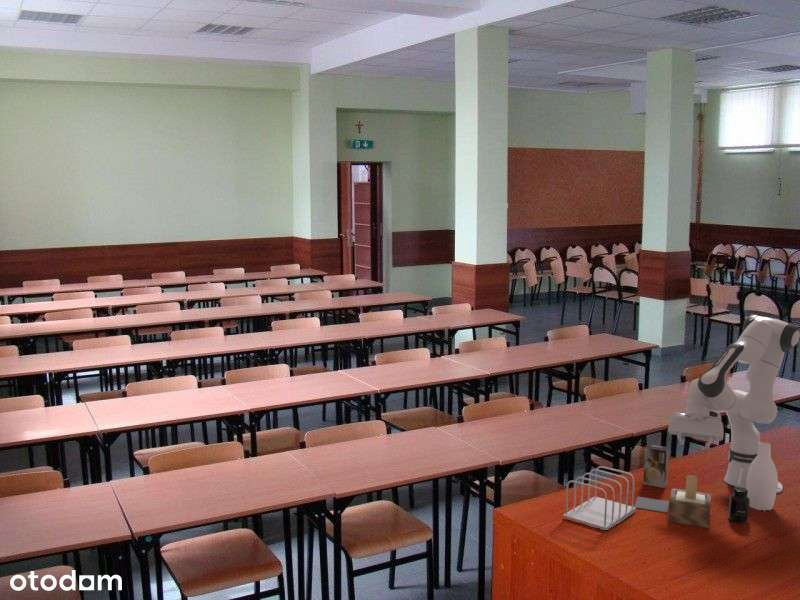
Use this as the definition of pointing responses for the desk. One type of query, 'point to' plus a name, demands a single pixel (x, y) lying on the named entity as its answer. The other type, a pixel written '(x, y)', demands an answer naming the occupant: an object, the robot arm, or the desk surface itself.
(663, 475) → the coffee box
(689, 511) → the box
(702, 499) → the lid
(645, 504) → the mat
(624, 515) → the file sorter
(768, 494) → the bottle
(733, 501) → the supplement bottle
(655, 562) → the desk surface
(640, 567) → the desk surface
